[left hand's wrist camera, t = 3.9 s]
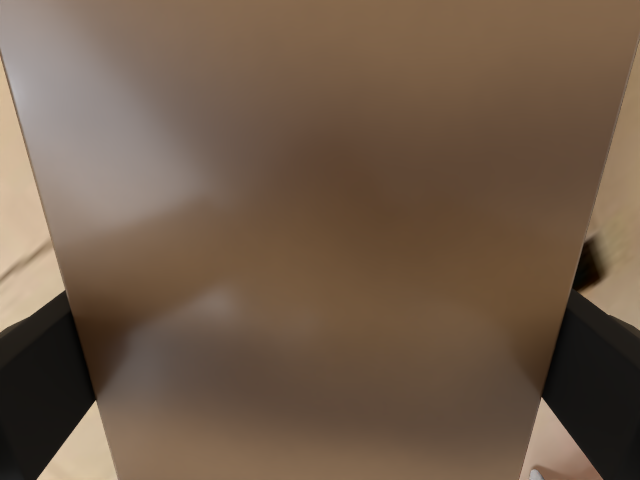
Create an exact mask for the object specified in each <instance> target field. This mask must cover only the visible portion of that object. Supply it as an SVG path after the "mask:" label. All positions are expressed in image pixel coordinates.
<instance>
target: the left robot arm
mask: <svg viewBox="0 0 640 480" xmlns="http://www.w3.org/2000/svg"><path fill="white" fill-rule="evenodd" d="M542 398H543V399H544V400H545V402H546V403H547V404H548V406H549V407H550V408H551V410H552V411H553V412H554V414H555V415H556V416H557V418H558V419H559V421H560V422H561V423H562V425H563V426H564V427H565V429H566V430H567V431H568V433H569V434H570V435H571V437H572V438H573V439H574V441H575V442H576V443H577V445H578V446H579V447H580V449H581V450H582V451H583V453H584V454H585V455H586V457H587V458H588V459H589V461H590V462H591V463H592V465H593V466H594V467H595V469H596V470H597V471H598V473H599V474H600V475H601V477H602V478H603V480H640V331H639V330H638V329H637V328H635V327H634V326H632V325H630V324H628V323H626V322H624V321H622V320H619V319H617V318H615V317H613V316H611V315H607V314H606V313H605V312H603V311H602V310H601V309H599V308H598V307H597V306H595V305H594V304H593V303H591V302H590V301H589V300H587V299H586V298H585V297H583V296H582V295H581V294H579V293H578V292H577V291H575V290H574V289H573V288H571V291H570V295H569V298H568V302H567V306H566V309H565V313H564V317H563V320H562V324H561V328H560V331H559V335H558V339H557V342H556V346H555V350H554V353H553V357H552V360H551V364H550V368H549V371H548V375H547V379H546V382H545V386H544V390H543V393H542ZM95 400H96V398H95V394H94V391H93V387H92V384H91V380H90V376H89V373H88V369H87V366H86V362H85V358H84V355H83V351H82V348H81V344H80V340H79V337H78V333H77V330H76V326H75V322H74V319H73V315H72V312H71V308H70V305H69V301H68V297H67V294H66V290H65V291H63V292H62V293H61V294H59V295H58V296H57V297H55V298H54V299H53V300H51V301H50V302H49V303H47V304H46V305H45V306H43V307H42V308H41V309H39V310H38V311H37V312H35V313H34V314H33V315H31V316H30V317H28V318H26V319H24V320H22V321H20V322H18V323H16V324H13V325H11V326H9V327H7V328H6V329H4V330H3V331H2V332H0V480H37V478H38V477H39V475H40V474H41V473H42V471H43V470H44V469H45V467H46V466H47V465H48V463H49V462H50V461H51V459H52V458H53V457H54V455H55V454H56V453H57V451H58V450H59V449H60V447H61V446H62V445H63V443H64V442H65V441H66V439H67V438H68V437H69V435H70V434H71V433H72V431H73V430H74V429H75V427H76V426H77V425H78V423H79V422H80V420H81V419H82V418H83V416H84V415H85V414H86V412H87V411H88V410H89V408H90V407H91V406H92V404H93V403H94V402H95Z"/></svg>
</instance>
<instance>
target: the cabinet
mask: <svg viewBox="0 0 640 480" xmlns="http://www.w3.org/2000/svg"><path fill="white" fill-rule="evenodd" d="M639 40H640V0H0V57H1V60H2V64H3V67H4V71H5V75H6V78H7V82H8V85H9V89H10V93H11V96H12V100H13V103H14V107H15V111H16V114H17V118H18V121H19V125H20V128H21V132H22V136H23V139H24V143H25V146H26V150H27V154H28V157H29V161H30V164H31V168H32V172H33V175H34V179H35V182H36V186H37V190H38V193H39V197H40V200H41V204H42V208H43V211H44V215H45V218H46V222H47V225H48V229H49V233H50V236H51V240H52V243H53V247H54V251H55V254H56V258H57V261H58V265H59V269H60V272H61V276H62V279H63V283H64V287H65V290H66V294H67V297H68V301H69V305H70V308H71V312H72V315H73V319H74V322H75V326H76V330H77V333H78V337H79V340H80V344H81V348H82V351H83V355H84V358H85V362H86V366H87V369H88V373H89V376H90V380H91V384H92V387H93V391H94V394H95V398H96V402H97V405H98V409H99V412H100V416H101V419H102V423H103V427H104V430H105V434H106V437H107V441H108V445H109V448H110V452H111V455H112V459H113V463H114V466H115V470H116V473H117V477H118V480H519V477H520V473H521V470H522V466H523V463H524V459H525V455H526V452H527V448H528V444H529V441H530V437H531V433H532V430H533V426H534V422H535V419H536V415H537V411H538V408H539V404H540V401H541V397H542V393H543V390H544V386H545V382H546V379H547V375H548V371H549V368H550V364H551V360H552V357H553V353H554V350H555V346H556V342H557V339H558V335H559V331H560V328H561V324H562V320H563V317H564V313H565V309H566V306H567V302H568V298H569V295H570V291H571V288H572V284H573V280H574V277H575V273H576V269H577V266H578V262H579V258H580V255H581V251H582V247H583V244H584V240H585V236H586V233H587V229H588V226H589V222H590V218H591V215H592V211H593V207H594V204H595V200H596V196H597V193H598V189H599V185H600V182H601V178H602V174H603V171H604V167H605V164H606V160H607V156H608V153H609V149H610V145H611V142H612V138H613V134H614V131H615V127H616V123H617V120H618V116H619V112H620V109H621V105H622V102H623V98H624V94H625V91H626V87H627V83H628V80H629V76H630V72H631V69H632V65H633V61H634V58H635V54H636V50H637V47H638V43H639Z"/></svg>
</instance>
